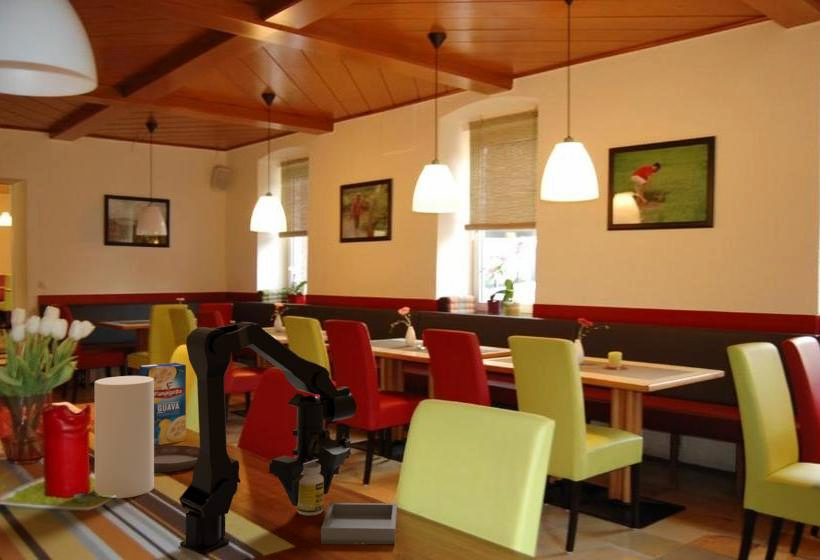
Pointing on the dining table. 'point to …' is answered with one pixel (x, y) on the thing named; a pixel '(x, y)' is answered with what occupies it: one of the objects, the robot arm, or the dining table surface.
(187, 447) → the plant saucer
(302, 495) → the supplement bottle
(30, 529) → the dining table surface
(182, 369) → the beverage box
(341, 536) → the gray rectangular open tray
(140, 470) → the cylinder
